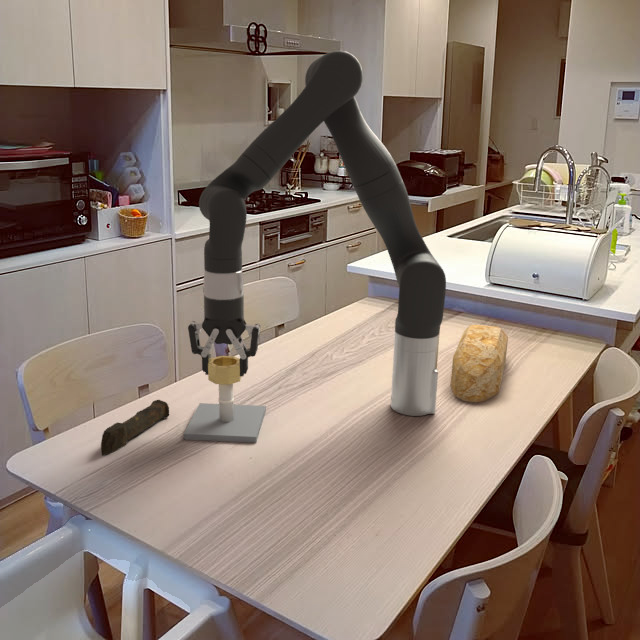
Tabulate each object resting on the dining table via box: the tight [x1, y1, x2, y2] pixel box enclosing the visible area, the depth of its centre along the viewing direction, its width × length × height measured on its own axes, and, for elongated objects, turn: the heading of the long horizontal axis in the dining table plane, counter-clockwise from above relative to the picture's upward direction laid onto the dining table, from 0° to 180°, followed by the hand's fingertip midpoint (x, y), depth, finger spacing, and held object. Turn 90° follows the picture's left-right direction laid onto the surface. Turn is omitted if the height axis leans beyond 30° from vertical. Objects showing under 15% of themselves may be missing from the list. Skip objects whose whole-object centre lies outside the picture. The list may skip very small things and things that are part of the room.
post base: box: [183, 383, 267, 443], centre depth 141 cm, size 14×14×10 cm
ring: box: [207, 355, 243, 385], centre depth 139 cm, size 6×6×4 cm
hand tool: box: [100, 399, 170, 456], centre depth 137 cm, size 19×4×5 cm, turn 155°
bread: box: [450, 324, 509, 403], centre depth 171 cm, size 36×11×10 cm, turn 162°
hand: (225, 373), depth 140 cm, fingers closed on ring, 6 cm apart
